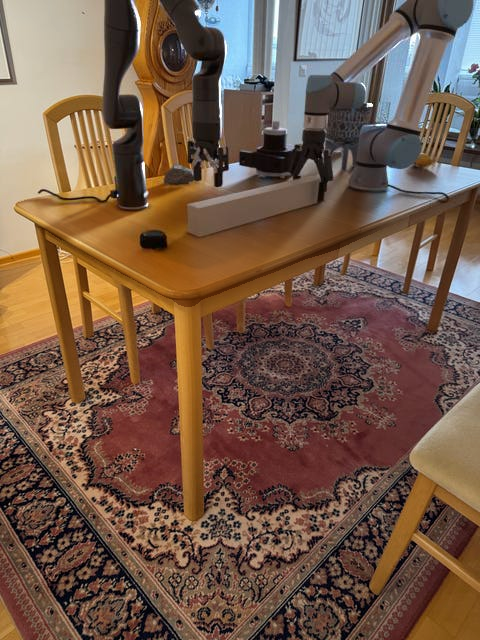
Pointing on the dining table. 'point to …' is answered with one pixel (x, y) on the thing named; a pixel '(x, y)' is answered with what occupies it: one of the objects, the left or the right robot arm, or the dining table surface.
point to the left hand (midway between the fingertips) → (207, 183)
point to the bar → (251, 205)
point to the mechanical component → (270, 153)
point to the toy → (424, 161)
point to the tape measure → (153, 239)
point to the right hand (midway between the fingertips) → (307, 198)
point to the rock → (178, 175)
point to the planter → (346, 130)
